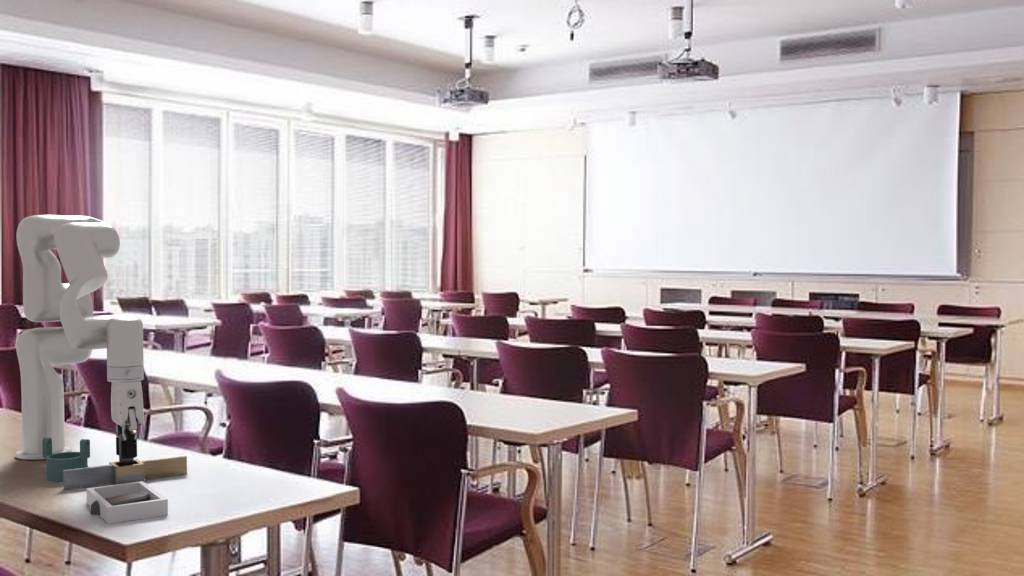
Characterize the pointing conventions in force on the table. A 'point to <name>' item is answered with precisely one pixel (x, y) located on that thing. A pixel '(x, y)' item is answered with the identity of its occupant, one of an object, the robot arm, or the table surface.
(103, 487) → the parts tray frame
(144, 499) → the usb flash stick
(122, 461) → the hinge pin
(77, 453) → the teal round tub
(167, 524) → the table surface
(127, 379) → the robot arm
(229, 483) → the table surface
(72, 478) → the hinge
